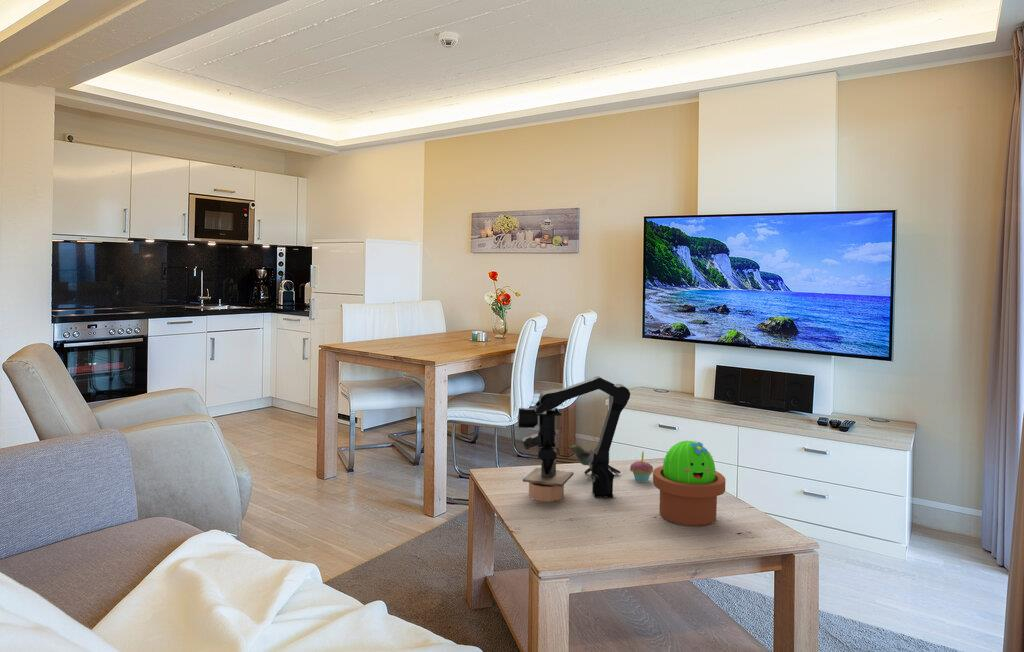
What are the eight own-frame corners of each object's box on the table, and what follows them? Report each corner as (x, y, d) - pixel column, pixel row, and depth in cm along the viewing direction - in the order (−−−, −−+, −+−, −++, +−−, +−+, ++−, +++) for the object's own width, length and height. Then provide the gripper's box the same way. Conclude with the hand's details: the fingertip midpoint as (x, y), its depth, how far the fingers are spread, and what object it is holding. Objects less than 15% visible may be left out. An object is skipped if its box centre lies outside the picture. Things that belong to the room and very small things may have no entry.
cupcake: (654, 484, 232) (655, 452, 231) (631, 483, 232) (632, 452, 231) (650, 476, 240) (651, 446, 239) (627, 476, 240) (628, 445, 239)
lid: (573, 474, 222) (573, 458, 221) (562, 486, 209) (562, 469, 208) (536, 469, 227) (536, 454, 226) (522, 481, 214) (522, 464, 213)
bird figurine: (616, 468, 248) (592, 426, 245) (624, 476, 238) (599, 433, 235) (587, 486, 247) (563, 445, 243) (595, 495, 237) (569, 452, 234)
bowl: (562, 489, 224) (563, 476, 224) (564, 501, 212) (564, 487, 212) (529, 488, 225) (529, 475, 224) (528, 500, 213) (528, 486, 212)
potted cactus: (643, 504, 211) (645, 431, 209) (706, 503, 213) (709, 430, 211) (665, 530, 189) (667, 449, 187) (735, 529, 191) (738, 448, 189)
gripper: (524, 421, 226) (524, 463, 227) (523, 433, 208) (522, 479, 209) (555, 421, 226) (554, 464, 227) (557, 434, 207) (556, 480, 208)
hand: (546, 471), depth 218 cm, fingers closed on lid, 5 cm apart
